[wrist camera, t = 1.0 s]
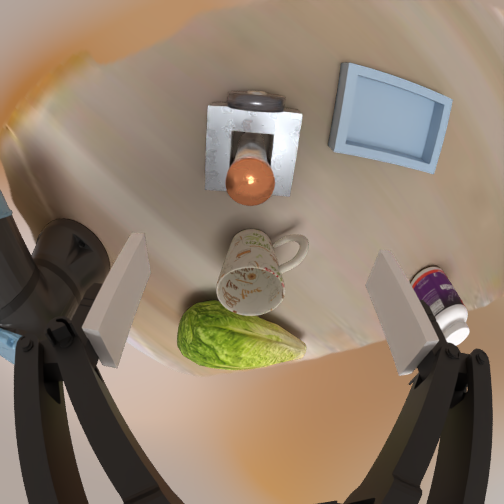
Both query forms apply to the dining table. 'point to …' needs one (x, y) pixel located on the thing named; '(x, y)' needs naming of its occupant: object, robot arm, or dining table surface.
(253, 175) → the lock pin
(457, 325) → the pill bottle
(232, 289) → the mug
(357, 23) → the dining table surface
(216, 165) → the block
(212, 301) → the lettuce
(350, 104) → the tray
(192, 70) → the dining table surface
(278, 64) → the dining table surface
